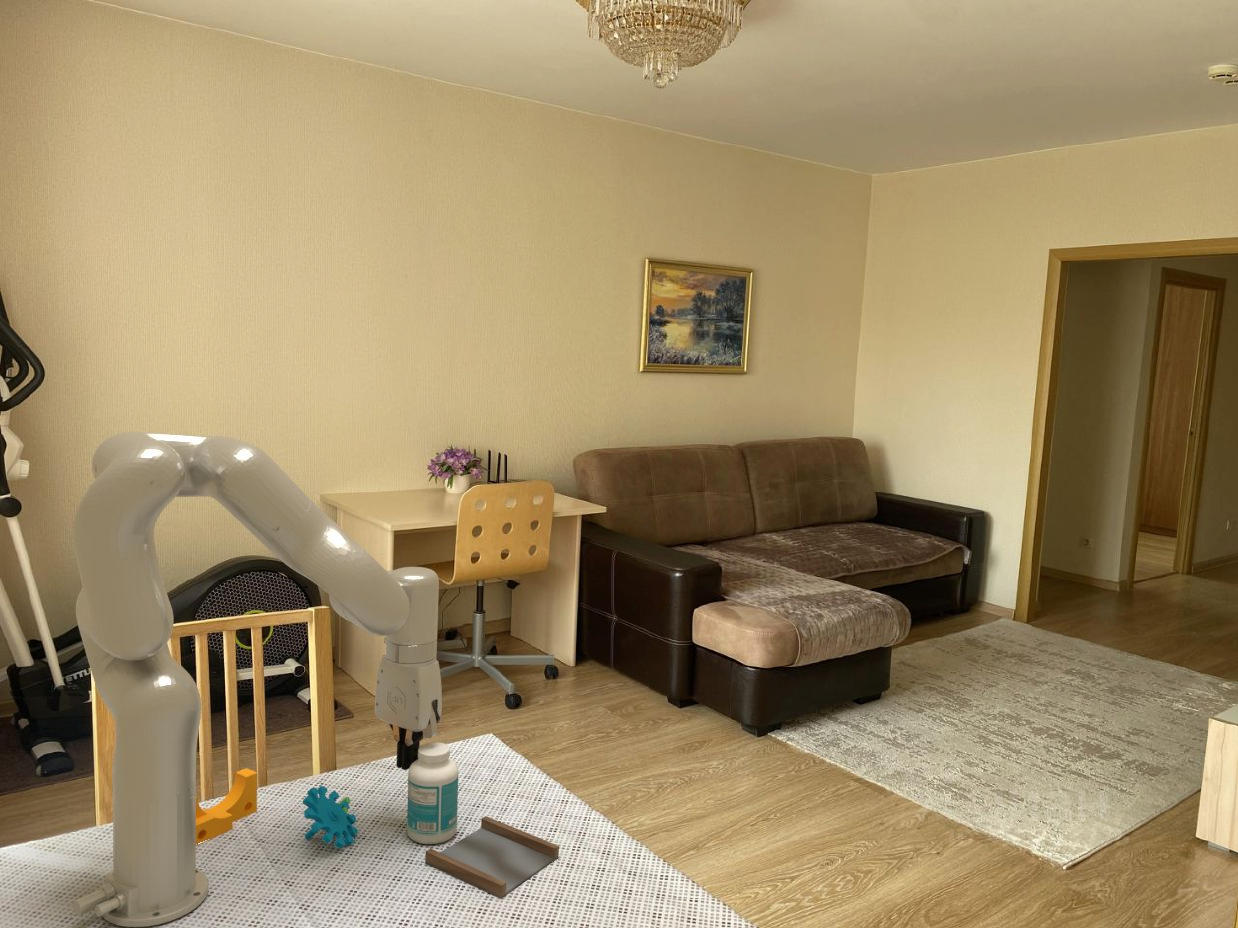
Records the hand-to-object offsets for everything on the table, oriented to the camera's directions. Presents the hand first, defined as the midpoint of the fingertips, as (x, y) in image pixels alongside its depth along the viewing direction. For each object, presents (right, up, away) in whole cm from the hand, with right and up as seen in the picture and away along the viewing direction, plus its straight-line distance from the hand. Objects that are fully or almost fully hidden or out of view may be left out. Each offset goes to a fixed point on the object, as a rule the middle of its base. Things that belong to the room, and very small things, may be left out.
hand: (407, 765), depth 142 cm
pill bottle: (+4, -10, -2) cm, 11 cm away
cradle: (+14, -11, -8) cm, 20 cm away
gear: (-10, -10, -5) cm, 15 cm away
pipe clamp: (-27, -8, -3) cm, 29 cm away
